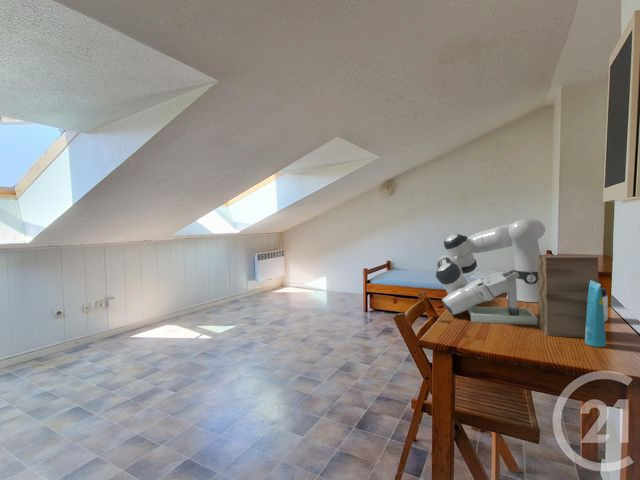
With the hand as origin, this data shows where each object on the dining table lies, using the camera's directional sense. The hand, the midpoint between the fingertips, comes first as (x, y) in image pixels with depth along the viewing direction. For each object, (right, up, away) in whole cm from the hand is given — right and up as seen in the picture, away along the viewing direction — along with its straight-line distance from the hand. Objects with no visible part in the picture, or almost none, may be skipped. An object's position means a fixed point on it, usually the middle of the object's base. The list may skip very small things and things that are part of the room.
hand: (516, 272), depth 128 cm
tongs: (-2, -9, +1) cm, 9 cm away
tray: (-5, -19, +3) cm, 19 cm away
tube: (+8, -19, -27) cm, 34 cm away
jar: (+27, -18, -3) cm, 33 cm away
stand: (+8, -19, -16) cm, 26 cm away
